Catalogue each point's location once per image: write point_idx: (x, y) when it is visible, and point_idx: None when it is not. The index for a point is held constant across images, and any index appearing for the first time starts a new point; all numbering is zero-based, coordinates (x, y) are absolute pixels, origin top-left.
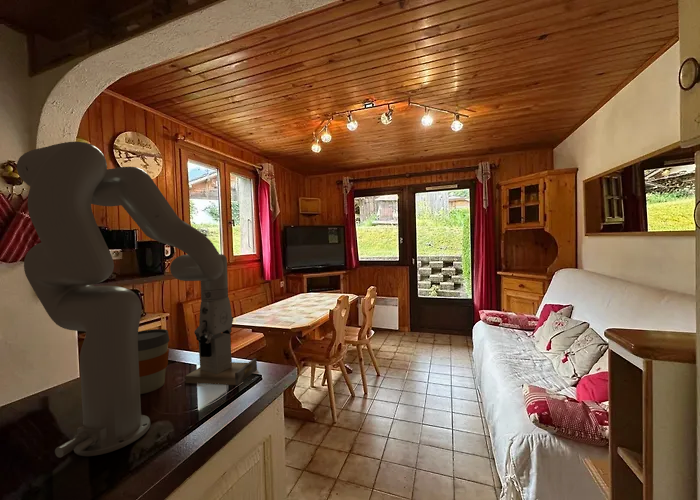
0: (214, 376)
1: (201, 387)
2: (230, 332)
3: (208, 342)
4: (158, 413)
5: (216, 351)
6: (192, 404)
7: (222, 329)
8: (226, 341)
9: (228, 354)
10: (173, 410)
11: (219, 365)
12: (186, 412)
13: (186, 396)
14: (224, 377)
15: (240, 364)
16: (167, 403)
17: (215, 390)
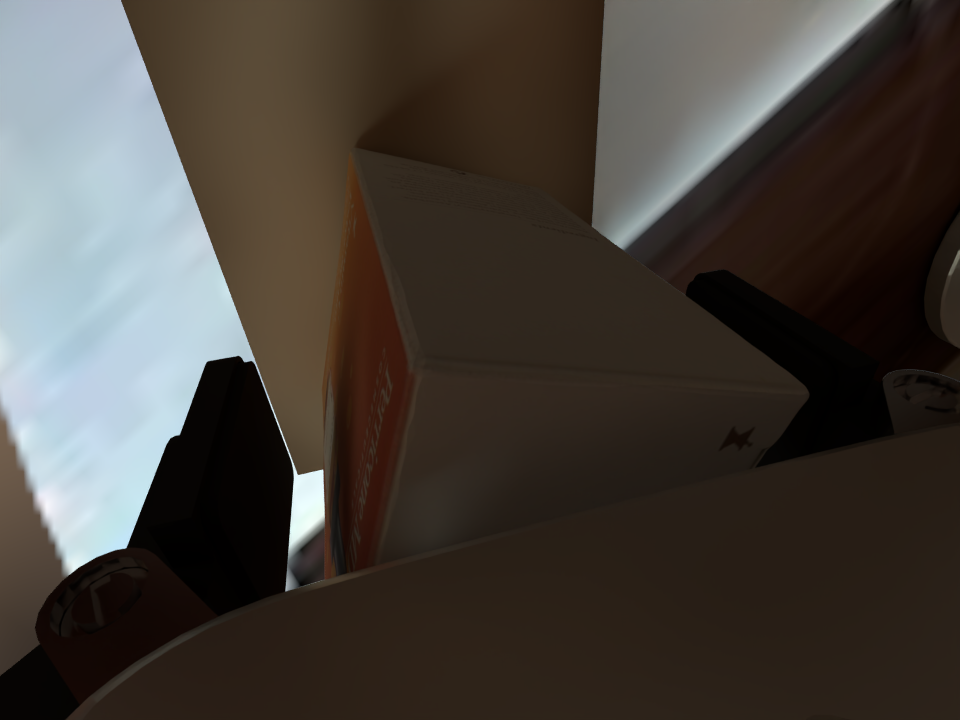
0: (580, 175)
1: (619, 219)
2: (114, 561)
3: (886, 391)
4: (900, 208)
5: (650, 275)
6: (853, 73)
7: (796, 524)
8: (506, 293)
9: (423, 199)
10: (894, 146)
11: (537, 199)
12: (946, 27)
13: (738, 215)
14: (595, 41)
15: (227, 101)
16: (803, 257)
17: (670, 50)
